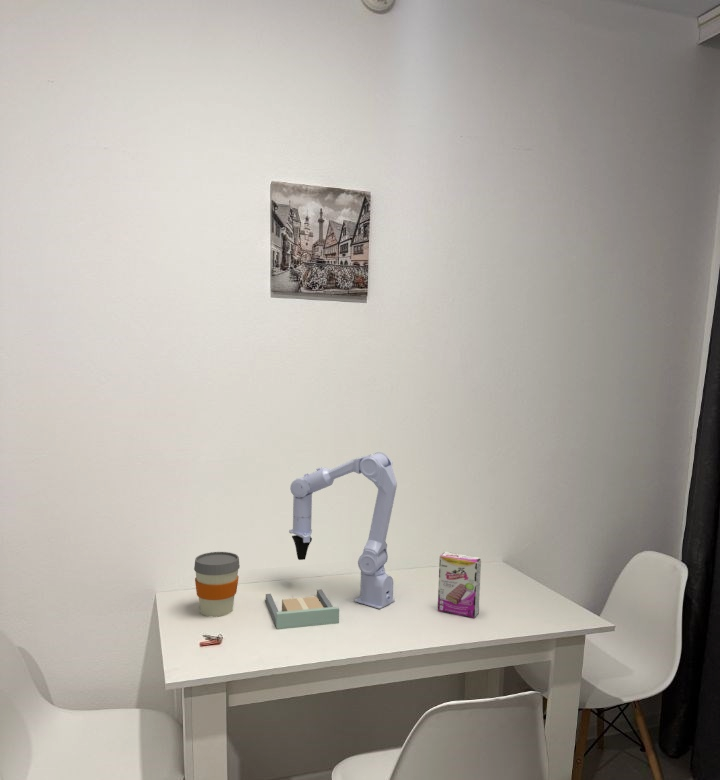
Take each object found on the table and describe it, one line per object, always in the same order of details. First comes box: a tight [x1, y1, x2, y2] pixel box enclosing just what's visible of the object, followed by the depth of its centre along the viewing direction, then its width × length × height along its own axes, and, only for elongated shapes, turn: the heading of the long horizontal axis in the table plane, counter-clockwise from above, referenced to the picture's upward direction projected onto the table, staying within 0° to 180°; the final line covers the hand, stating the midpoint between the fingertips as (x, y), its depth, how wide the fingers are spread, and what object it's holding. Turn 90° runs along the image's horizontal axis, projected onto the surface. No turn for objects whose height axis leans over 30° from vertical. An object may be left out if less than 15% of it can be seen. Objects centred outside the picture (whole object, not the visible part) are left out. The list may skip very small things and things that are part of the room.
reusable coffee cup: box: [193, 551, 240, 618], centre depth 180 cm, size 12×12×15 cm
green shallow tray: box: [265, 589, 340, 630], centre depth 181 cm, size 20×17×4 cm
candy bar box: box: [437, 551, 482, 619], centre depth 183 cm, size 11×5×16 cm, turn 65°
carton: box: [281, 595, 324, 612], centre depth 178 cm, size 9×10×4 cm
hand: (301, 559), depth 198 cm, fingers closed
